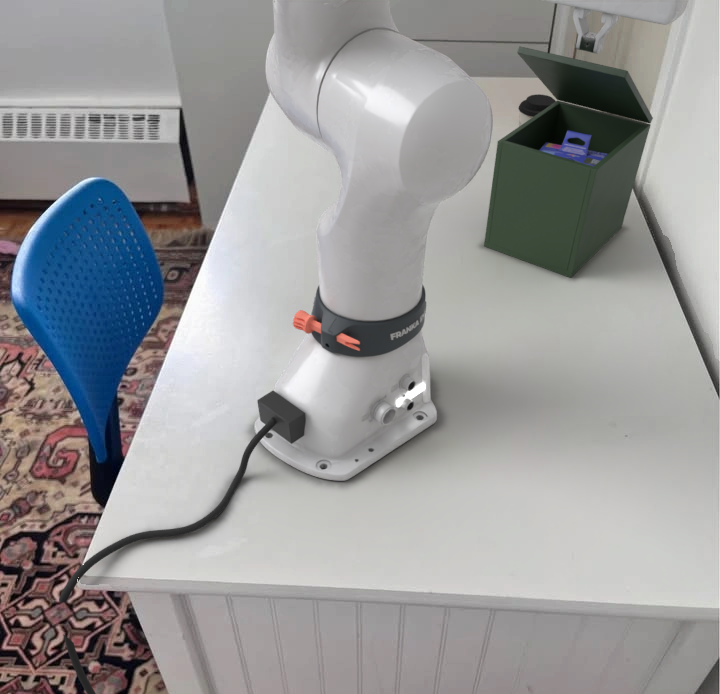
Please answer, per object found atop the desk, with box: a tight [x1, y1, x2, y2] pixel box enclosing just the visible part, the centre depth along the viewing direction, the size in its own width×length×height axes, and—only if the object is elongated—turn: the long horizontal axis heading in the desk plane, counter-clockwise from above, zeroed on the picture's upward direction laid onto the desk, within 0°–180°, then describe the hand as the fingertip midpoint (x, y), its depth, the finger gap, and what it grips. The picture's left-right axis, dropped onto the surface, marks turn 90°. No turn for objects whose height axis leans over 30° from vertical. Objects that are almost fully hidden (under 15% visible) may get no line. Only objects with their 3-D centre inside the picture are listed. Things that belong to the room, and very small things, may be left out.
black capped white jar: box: [517, 94, 557, 127], centre depth 126 cm, size 7×7×10 cm
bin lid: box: [517, 46, 654, 124], centre depth 96 cm, size 18×15×1 cm
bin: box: [483, 100, 652, 278], centre depth 106 cm, size 18×15×16 cm
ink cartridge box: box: [539, 130, 608, 167], centre depth 105 cm, size 10×6×14 cm, turn 62°
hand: (588, 50), depth 91 cm, fingers closed
